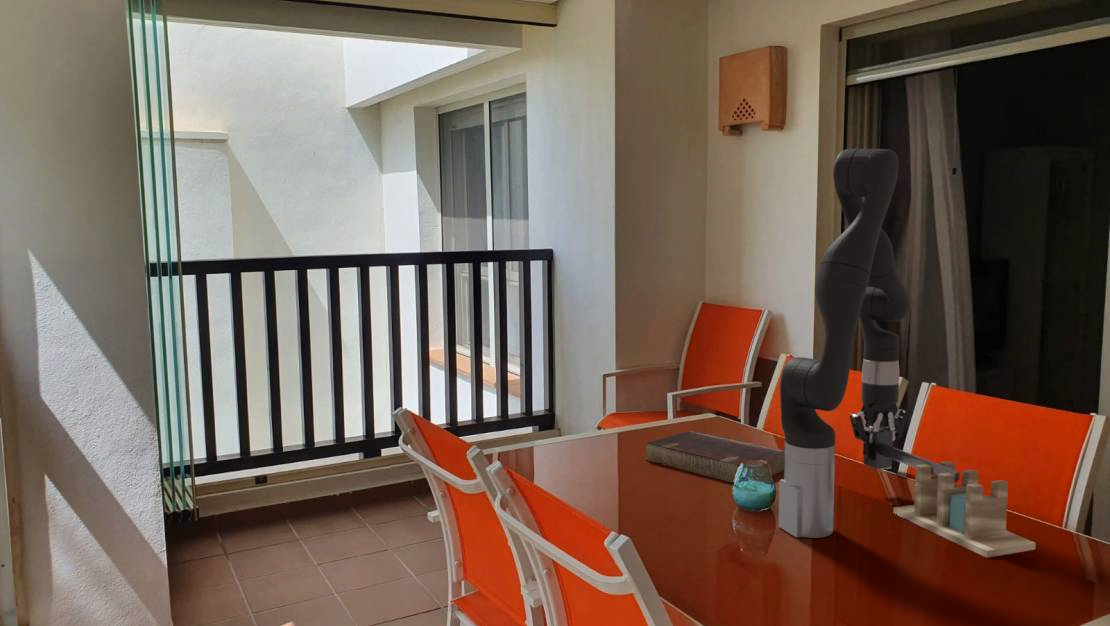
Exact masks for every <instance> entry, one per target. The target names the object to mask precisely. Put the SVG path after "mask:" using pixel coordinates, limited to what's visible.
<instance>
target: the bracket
mask: <svg viewBox="0 0 1110 626" xmlns="http://www.w3.org/2000/svg"><path fill="white" fill-rule="evenodd" d="M938 464H940V465H943V466H945V467H948V468H951V469H953V470H955V469H956V468H955V467H956V463H955V462H952V461H950V460H949V461H948V460H947V461H941V462H939V463H938ZM961 475H962V476H961V484H955V483H954V475H953V474H950V473H941V474H938V477H937V476H935V475H932V474H931V466H929V465H927V464H922V465H916V468H915V479H914V481H915V486H914V487H915V488H914V504H910V505H902V506H895V507H893V509H892V510H893V512H892V513H893V514H894V513H895V514H894V515H896V514H897V515H896V516H898V517H900V518H902V519H904V518H905V519H904V520H906V519H907V521H908V520H909V521H908V522H910V523H912V524H915V525H917V526H919V527H921V528H923V529H926V530H928V531H929V532H932V533H934V534H936V535H938V536H940V537H942V538H944V539H946V540H948V541H951V542H952V543H955V544H956V545H959V546H961V547H963V548H965V549H967V550H970V551H971V552H974V553H976V554H978V555H980V556H982V557H984V558H993V557H999V556H1004V555H1005V556H1006V555H1012V554H1015V553H1016V554H1017V553H1023V552H1029V551H1034V550H1036V542H1035V541H1032V540H1029V539H1027V538H1025V537H1022V536H1020V535H1017V534H1016V533H1013V532H1011V531H1009V530H1007V517H1008V515H1007V514H1008V513H1007V512H1008V495H1009V492H1008V491H1009V482H1008V481H1005V480H1003V479H1000V480H999V479H998V480H991V482H990V483H991V484H990V495H985V496H984V497H983V495H984V485H982V484H979V471H977V470H974V469H965V470H962V472H961ZM962 493H966V509H965V532H964V533H962V532H960V531H958V530H955V529H953V528H951V527H949V526H950V502H951V495H955V494H962Z"/></svg>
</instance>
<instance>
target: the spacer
mask: <svg viewBox="0 0 1110 626" xmlns="http://www.w3.org/2000/svg"><path fill="white" fill-rule="evenodd" d="M984 496H986V495H985V494H983V497H984ZM965 509H966V493H962V494H955V495H951V502H950V526H949V527H951V528H953V529H955V530H958V531H960V532H962V533H964V532H965Z"/></svg>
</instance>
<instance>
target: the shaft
mask: <svg viewBox="0 0 1110 626" xmlns="http://www.w3.org/2000/svg"><path fill="white" fill-rule="evenodd" d="M869 434H870V432H869ZM868 437H869V436H868ZM892 441H893V431H890V430H887V429H884V428H881V427H879V429H878V432H876V433H875V438H874V442H873V443H874V459H873V460H868V459H866V458H865V457H864V456H863V465H865V466H867V467H870V468H873V469H875V470H883V469H882V468H890V467H893V466H892V465H893V461H896V462H898V463H901V464H904V465H906V466H909V467H911V468H914V469H916V465H922V464H927V465H929V466H931V476H937V477H938V474H941V473H950V474H953V475H954V484H956V483H958V481H959V480H960V477H961V474H960V472H959V471H958V470H953V469H951V468H948V467H945V466H943V465H940V464H939V463H936V462H934V461H931V460H929V459H926V458H923V457H921V456H918V455H915V454H913V453H909V452H906V451H904V450H902V449H899V448H897V447H894V446H893V447H892ZM893 442H894V441H893Z"/></svg>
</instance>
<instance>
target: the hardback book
mask: <svg viewBox="0 0 1110 626" xmlns="http://www.w3.org/2000/svg"><path fill="white" fill-rule="evenodd" d="M784 452H785V449H779V448H775V447H774V448H773V447H770V446H765V445H760V444H756V443H751V442H747V441H741V440H737V439H731V438H727V437H722V436H719V435H713V434H708V433H704V432H701V431H694V430H688V431H685V432H681V433H676V434H674V435H670V436H666V437H662V438H659V439H654V440H651V441H648V442H645V460H646V459H647V460H650V461H655V462H659V463H662V464H666V465H669V466H668V467H670V466H673V467H672V468H674V467H677V468H676V469H678V468H680V469H679V470H682V469H684V470H683V471H686V470H687V471H686V472H689V471H690V473H693V472H694V474H697V473H698V475H701V476H705V477H709V478H713V479H717V480H721V481H725V482H729V483H732V481H733V479H734V476H735V474H736V472H737V469H738V467H739V466H740V464H741V462H742V461H743V460H764V461H767V462H768V464H769V467H770V469H771V472H772V474H773V475H776V473H777V474H779V473H781V471H782V472H784ZM647 460H646V461H647ZM650 461H649V462H650ZM662 464H661V465H662ZM666 465H665V466H666ZM773 475H772V476H773Z"/></svg>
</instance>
